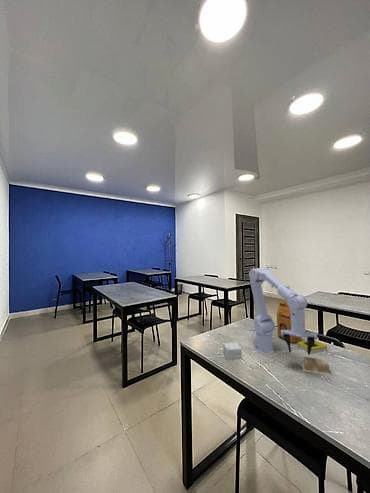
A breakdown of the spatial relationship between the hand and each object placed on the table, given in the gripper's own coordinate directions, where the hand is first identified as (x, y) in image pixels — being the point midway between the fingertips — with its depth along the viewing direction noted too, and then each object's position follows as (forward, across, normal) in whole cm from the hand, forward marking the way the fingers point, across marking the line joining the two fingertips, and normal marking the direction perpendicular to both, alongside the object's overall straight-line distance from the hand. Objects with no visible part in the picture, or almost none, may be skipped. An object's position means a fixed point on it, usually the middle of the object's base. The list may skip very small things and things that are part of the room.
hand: (299, 352), depth 97 cm
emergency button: (+8, +8, +22) cm, 25 cm away
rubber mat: (+7, +2, 0) cm, 7 cm away
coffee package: (+7, -2, +32) cm, 33 cm away
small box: (+7, -31, +2) cm, 32 cm away
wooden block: (+4, +2, 0) cm, 5 cm away
